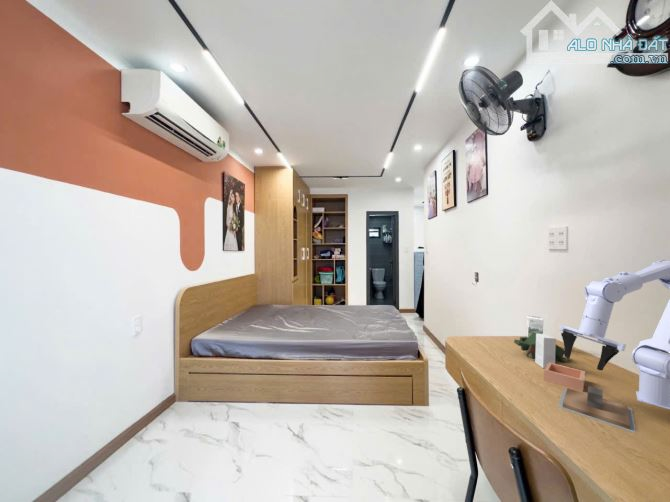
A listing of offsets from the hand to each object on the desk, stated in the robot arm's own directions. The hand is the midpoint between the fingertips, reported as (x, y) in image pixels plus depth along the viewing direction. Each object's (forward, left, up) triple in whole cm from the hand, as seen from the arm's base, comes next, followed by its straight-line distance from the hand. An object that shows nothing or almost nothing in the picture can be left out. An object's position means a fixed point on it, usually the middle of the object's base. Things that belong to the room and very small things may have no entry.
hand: (582, 363), depth 81 cm
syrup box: (+19, -48, -12) cm, 53 cm away
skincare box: (+12, -25, -12) cm, 30 cm away
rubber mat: (-3, +2, -12) cm, 12 cm away
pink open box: (+5, -13, -12) cm, 18 cm away
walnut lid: (-3, +2, -11) cm, 12 cm away
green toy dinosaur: (+15, -34, -12) cm, 39 cm away
